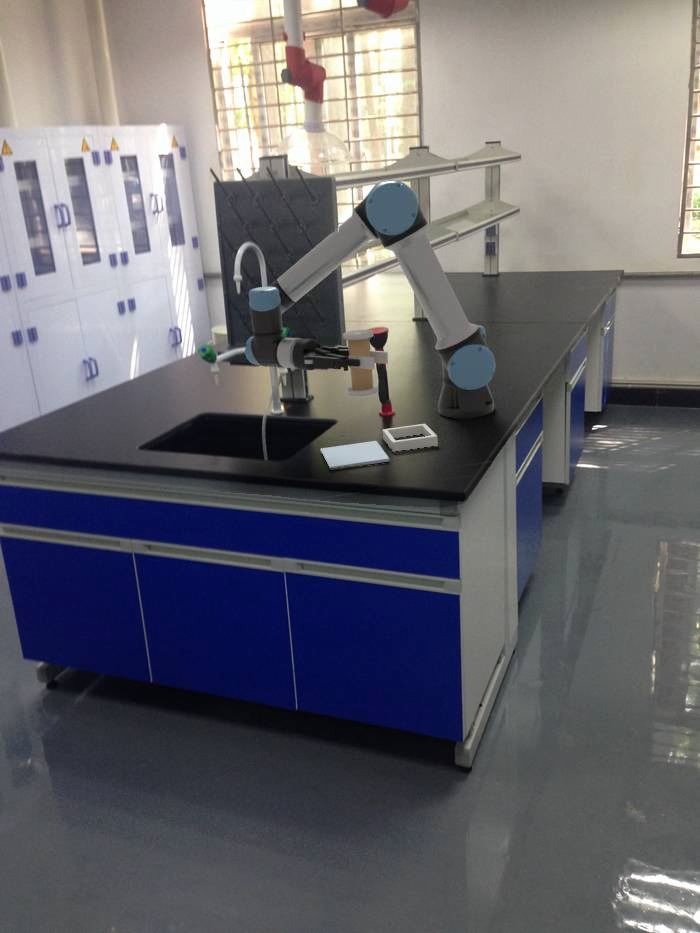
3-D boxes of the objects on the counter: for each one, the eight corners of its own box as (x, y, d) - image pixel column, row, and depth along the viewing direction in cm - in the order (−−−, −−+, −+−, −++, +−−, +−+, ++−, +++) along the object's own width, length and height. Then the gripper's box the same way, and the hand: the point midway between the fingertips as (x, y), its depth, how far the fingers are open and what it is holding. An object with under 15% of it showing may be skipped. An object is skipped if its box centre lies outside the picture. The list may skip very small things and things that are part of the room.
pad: (376, 444, 206) (376, 440, 205) (389, 462, 193) (389, 458, 192) (320, 452, 204) (320, 448, 203) (330, 471, 191) (329, 466, 190)
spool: (376, 387, 199) (371, 328, 195) (379, 393, 193) (374, 333, 188) (347, 390, 199) (341, 332, 194) (349, 397, 192) (344, 337, 188)
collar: (425, 433, 211) (424, 423, 210) (437, 445, 201) (437, 436, 200) (383, 439, 209) (382, 429, 208) (393, 452, 199) (392, 442, 198)
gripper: (323, 360, 211) (401, 367, 198) (278, 377, 198) (359, 386, 185) (321, 331, 209) (400, 336, 196) (275, 346, 195) (356, 352, 182)
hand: (380, 360), depth 190 cm, fingers closed on spool, 5 cm apart
